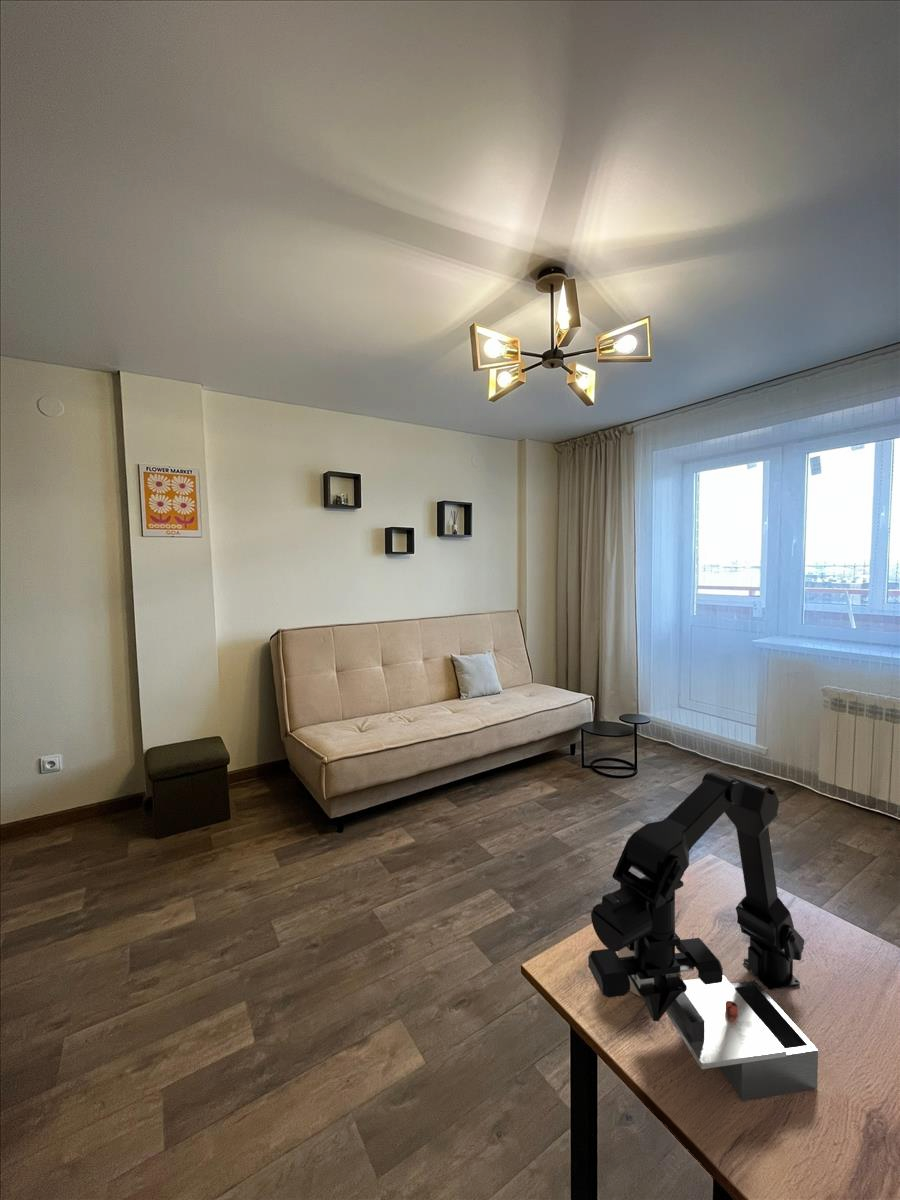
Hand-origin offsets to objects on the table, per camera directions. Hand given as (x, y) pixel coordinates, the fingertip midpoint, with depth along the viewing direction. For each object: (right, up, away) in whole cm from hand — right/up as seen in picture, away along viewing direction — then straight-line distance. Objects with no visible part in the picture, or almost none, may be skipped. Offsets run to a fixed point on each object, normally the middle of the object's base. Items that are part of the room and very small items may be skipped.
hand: (654, 1018), depth 72 cm
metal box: (+16, -7, +2) cm, 18 cm away
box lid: (+10, -1, +1) cm, 10 cm away
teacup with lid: (+6, -7, +17) cm, 19 cm away
